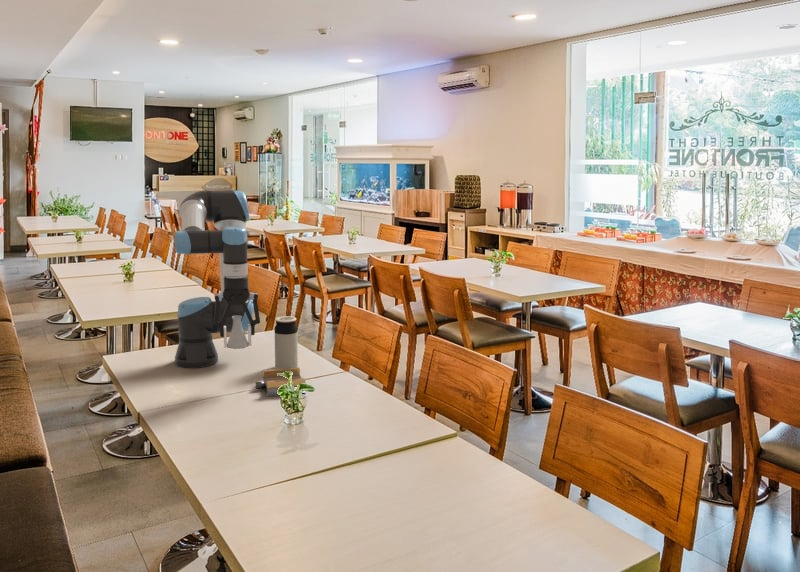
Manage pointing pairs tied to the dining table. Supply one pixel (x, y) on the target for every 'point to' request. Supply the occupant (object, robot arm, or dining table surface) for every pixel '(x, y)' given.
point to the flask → (237, 335)
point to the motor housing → (278, 380)
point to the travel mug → (286, 343)
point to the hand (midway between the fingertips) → (237, 345)
